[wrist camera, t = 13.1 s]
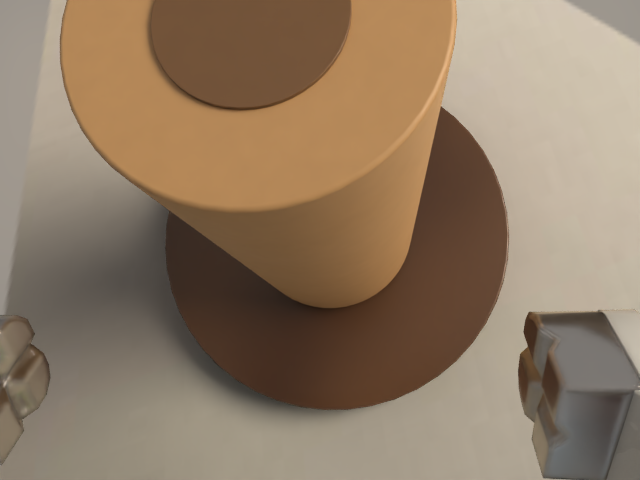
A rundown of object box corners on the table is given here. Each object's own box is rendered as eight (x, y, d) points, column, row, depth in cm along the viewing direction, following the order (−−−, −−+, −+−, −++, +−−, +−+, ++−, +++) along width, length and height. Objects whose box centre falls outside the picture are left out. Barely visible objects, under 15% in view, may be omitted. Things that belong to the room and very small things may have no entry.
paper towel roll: (322, 343, 21) (216, 302, 8) (216, 219, 23) (-25, 5, 9) (446, 233, 22) (550, 12, 8) (334, 118, 23) (267, -227, 10)
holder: (141, 372, 24) (125, 372, 22) (213, 70, 26) (203, 53, 25) (481, 439, 22) (488, 445, 20) (520, 105, 24) (529, 88, 23)
